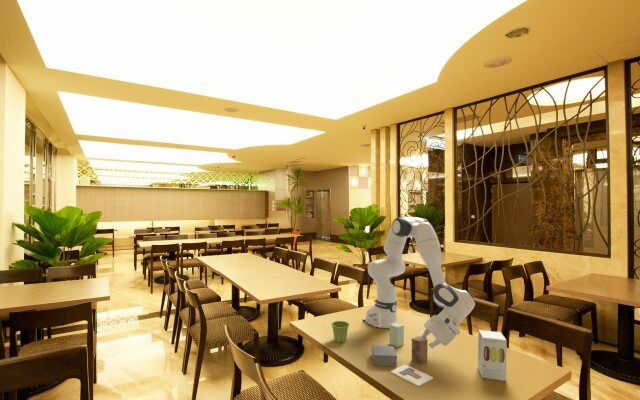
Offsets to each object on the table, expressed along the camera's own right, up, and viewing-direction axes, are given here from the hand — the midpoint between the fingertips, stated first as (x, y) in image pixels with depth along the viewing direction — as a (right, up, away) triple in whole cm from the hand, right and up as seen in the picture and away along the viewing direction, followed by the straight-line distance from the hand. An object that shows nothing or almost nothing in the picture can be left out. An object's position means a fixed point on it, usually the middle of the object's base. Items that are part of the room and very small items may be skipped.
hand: (426, 342), depth 154 cm
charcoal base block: (-20, -8, 0) cm, 21 cm away
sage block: (-10, -8, +18) cm, 22 cm away
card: (-10, -8, -14) cm, 19 cm away
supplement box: (+24, -9, -12) cm, 28 cm away
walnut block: (-3, -8, 0) cm, 9 cm away
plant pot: (-38, -8, +22) cm, 45 cm away
